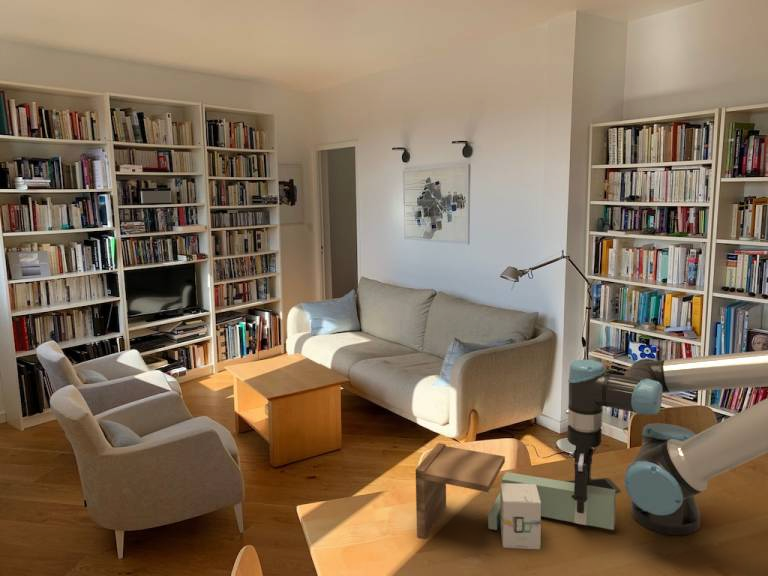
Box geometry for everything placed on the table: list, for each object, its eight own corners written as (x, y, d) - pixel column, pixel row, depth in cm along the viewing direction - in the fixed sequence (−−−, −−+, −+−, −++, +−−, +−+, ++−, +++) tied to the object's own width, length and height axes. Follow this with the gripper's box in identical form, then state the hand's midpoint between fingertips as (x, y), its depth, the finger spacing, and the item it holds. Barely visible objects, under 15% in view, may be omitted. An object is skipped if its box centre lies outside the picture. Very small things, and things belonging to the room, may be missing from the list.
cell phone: (621, 493, 153) (621, 491, 153) (570, 497, 152) (570, 495, 152) (608, 480, 161) (608, 477, 161) (559, 483, 160) (559, 481, 159)
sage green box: (615, 520, 138) (615, 489, 137) (610, 553, 127) (610, 519, 125) (502, 500, 150) (502, 471, 149) (488, 528, 138) (487, 497, 137)
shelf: (504, 519, 143) (504, 454, 140) (487, 554, 130) (488, 483, 127) (438, 504, 150) (438, 442, 147) (416, 536, 137) (415, 469, 134)
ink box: (499, 526, 140) (499, 481, 138) (535, 527, 139) (536, 482, 137) (502, 548, 132) (502, 500, 130) (541, 550, 131) (542, 502, 129)
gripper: (572, 410, 145) (570, 497, 149) (562, 438, 130) (559, 533, 134) (605, 415, 142) (601, 503, 146) (597, 443, 126) (594, 541, 131)
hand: (581, 517), depth 140 cm, fingers closed on sage green box, 4 cm apart
